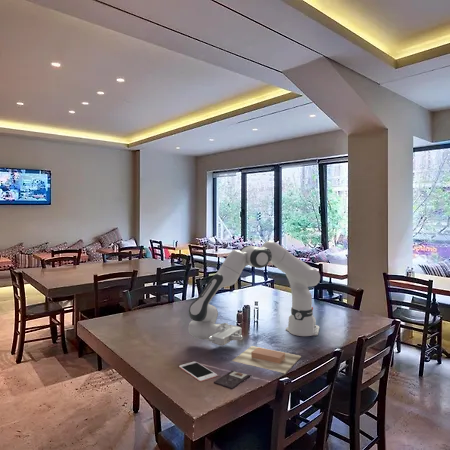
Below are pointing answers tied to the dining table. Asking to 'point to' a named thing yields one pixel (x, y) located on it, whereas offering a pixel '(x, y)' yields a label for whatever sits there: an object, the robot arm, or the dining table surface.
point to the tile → (268, 355)
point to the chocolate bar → (232, 379)
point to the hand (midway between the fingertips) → (241, 338)
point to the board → (282, 367)
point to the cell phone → (198, 371)
